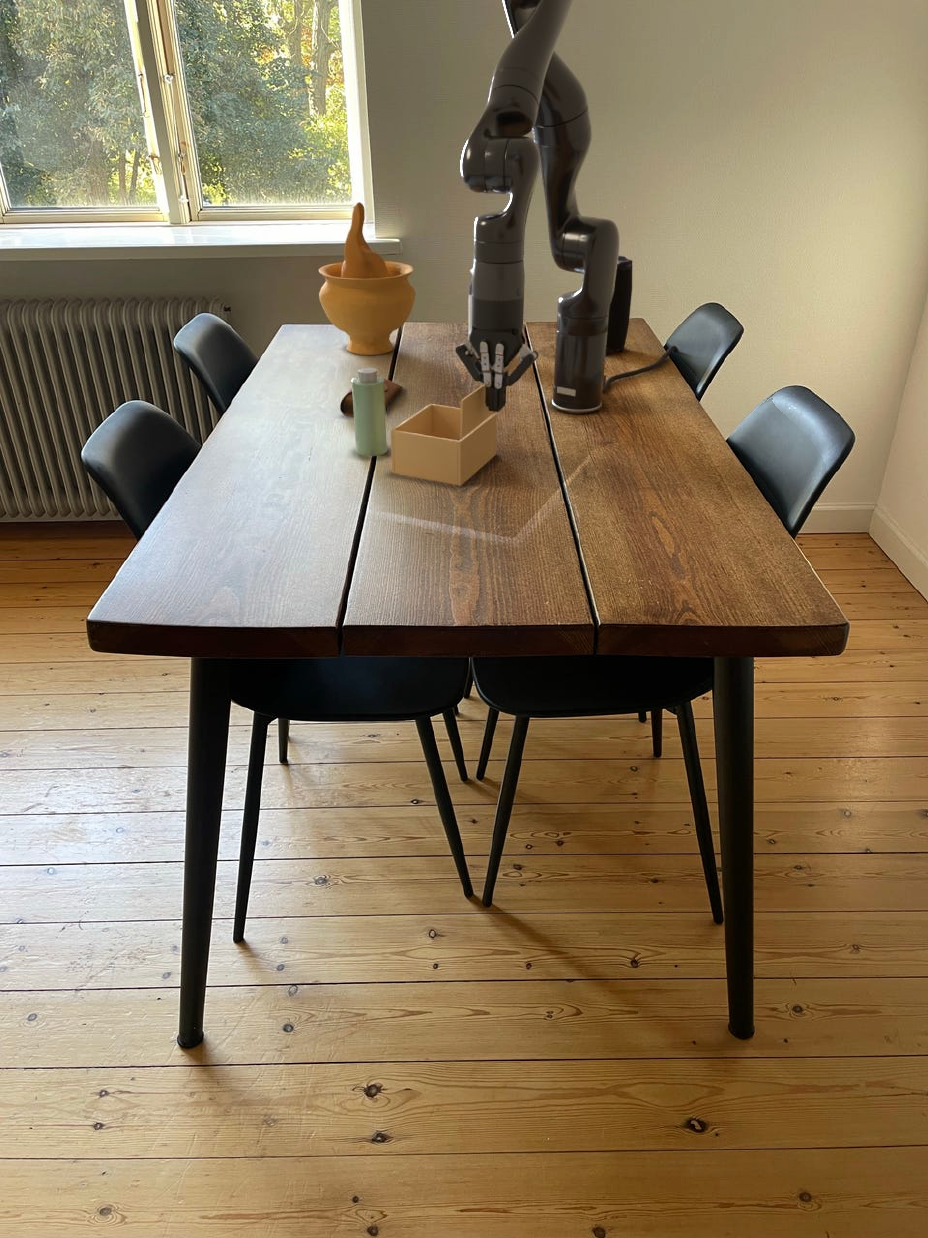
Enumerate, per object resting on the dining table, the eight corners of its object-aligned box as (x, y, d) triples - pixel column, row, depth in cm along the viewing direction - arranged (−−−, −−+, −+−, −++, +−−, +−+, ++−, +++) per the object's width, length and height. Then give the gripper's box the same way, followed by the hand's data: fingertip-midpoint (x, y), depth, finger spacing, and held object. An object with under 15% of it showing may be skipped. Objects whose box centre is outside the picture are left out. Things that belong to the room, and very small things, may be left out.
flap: (497, 374, 146) (499, 374, 146) (495, 409, 149) (497, 410, 149) (460, 400, 135) (462, 400, 135) (459, 437, 138) (461, 438, 138)
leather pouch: (385, 415, 168) (365, 384, 166) (354, 433, 171) (334, 402, 168) (404, 385, 184) (386, 356, 181) (375, 401, 186) (357, 373, 184)
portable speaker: (583, 354, 205) (589, 261, 194) (592, 343, 212) (598, 253, 202) (622, 357, 202) (630, 263, 192) (629, 346, 210) (638, 255, 200)
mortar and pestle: (414, 362, 199) (410, 211, 183) (316, 361, 199) (304, 211, 184) (419, 336, 217) (416, 197, 201) (330, 335, 217) (319, 196, 201)
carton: (431, 445, 157) (430, 403, 153) (495, 457, 153) (496, 413, 149) (392, 475, 147) (390, 430, 143) (460, 488, 142) (460, 442, 138)
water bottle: (365, 445, 158) (361, 363, 150) (392, 450, 156) (389, 367, 148) (350, 455, 154) (344, 372, 146) (377, 460, 152) (373, 376, 144)
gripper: (550, 291, 133) (544, 408, 142) (466, 283, 137) (465, 397, 146) (532, 302, 127) (527, 423, 136) (445, 293, 131) (445, 411, 140)
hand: (495, 409), depth 141 cm, fingers closed
